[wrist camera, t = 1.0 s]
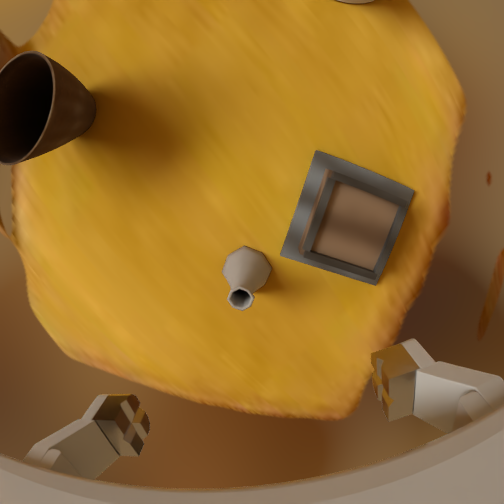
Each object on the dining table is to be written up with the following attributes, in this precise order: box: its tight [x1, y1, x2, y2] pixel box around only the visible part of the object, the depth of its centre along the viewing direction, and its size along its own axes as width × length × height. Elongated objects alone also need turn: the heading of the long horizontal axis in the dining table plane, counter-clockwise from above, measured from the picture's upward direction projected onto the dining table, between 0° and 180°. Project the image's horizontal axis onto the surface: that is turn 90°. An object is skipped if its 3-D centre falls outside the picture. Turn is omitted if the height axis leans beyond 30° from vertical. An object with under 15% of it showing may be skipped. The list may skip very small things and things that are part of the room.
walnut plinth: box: [280, 150, 414, 286], centre depth 41 cm, size 16×16×5 cm
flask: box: [222, 246, 272, 311], centre depth 42 cm, size 7×7×10 cm
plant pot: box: [0, 51, 96, 165], centre depth 33 cm, size 15×15×16 cm
